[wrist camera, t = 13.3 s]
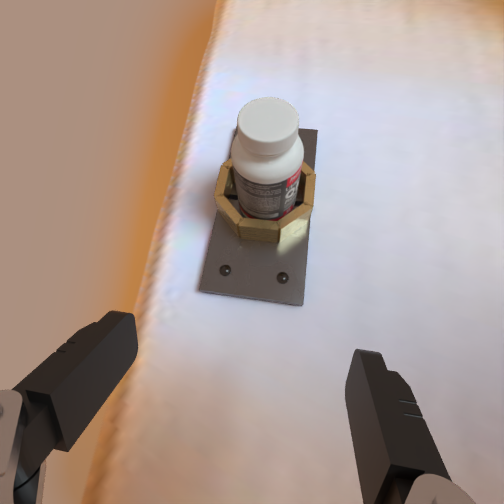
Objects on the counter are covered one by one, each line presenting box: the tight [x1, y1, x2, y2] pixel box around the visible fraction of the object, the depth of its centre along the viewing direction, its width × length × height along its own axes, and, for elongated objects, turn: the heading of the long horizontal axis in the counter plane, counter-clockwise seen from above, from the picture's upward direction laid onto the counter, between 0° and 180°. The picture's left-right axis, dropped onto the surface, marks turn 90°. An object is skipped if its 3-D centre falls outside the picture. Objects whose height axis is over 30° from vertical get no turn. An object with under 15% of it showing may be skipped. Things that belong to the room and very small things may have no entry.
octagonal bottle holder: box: [199, 127, 318, 306], centre depth 26 cm, size 19×9×3 cm, turn 171°
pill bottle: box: [231, 97, 304, 221], centre depth 22 cm, size 5×5×10 cm
